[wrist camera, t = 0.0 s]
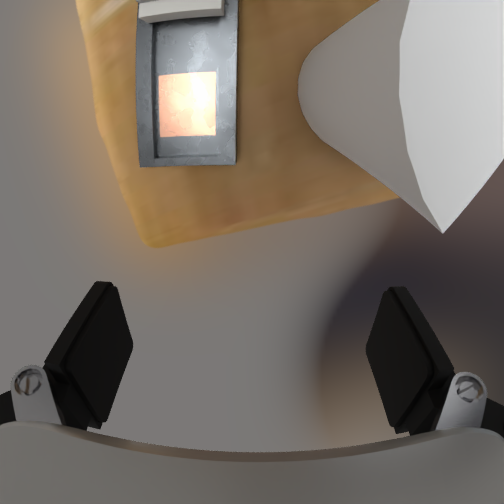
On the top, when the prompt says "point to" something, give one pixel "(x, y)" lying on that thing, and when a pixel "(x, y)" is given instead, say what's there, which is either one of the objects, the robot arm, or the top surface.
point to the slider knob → (178, 9)
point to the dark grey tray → (188, 90)
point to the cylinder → (414, 98)
